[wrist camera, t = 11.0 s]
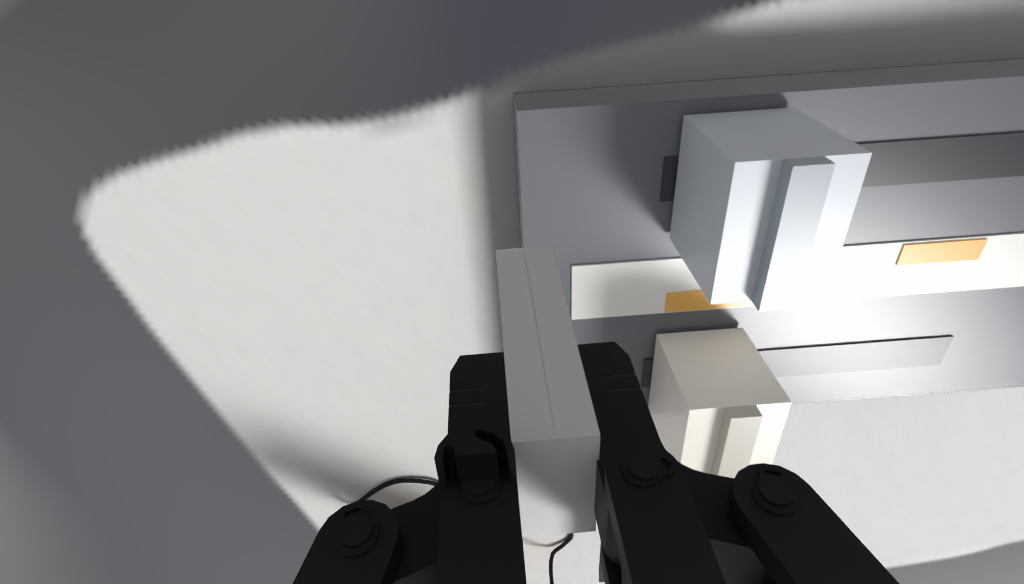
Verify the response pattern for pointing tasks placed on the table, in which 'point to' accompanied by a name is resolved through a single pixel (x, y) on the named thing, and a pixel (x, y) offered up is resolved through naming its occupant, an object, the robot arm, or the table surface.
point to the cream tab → (716, 401)
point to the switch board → (867, 247)
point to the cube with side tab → (764, 204)
